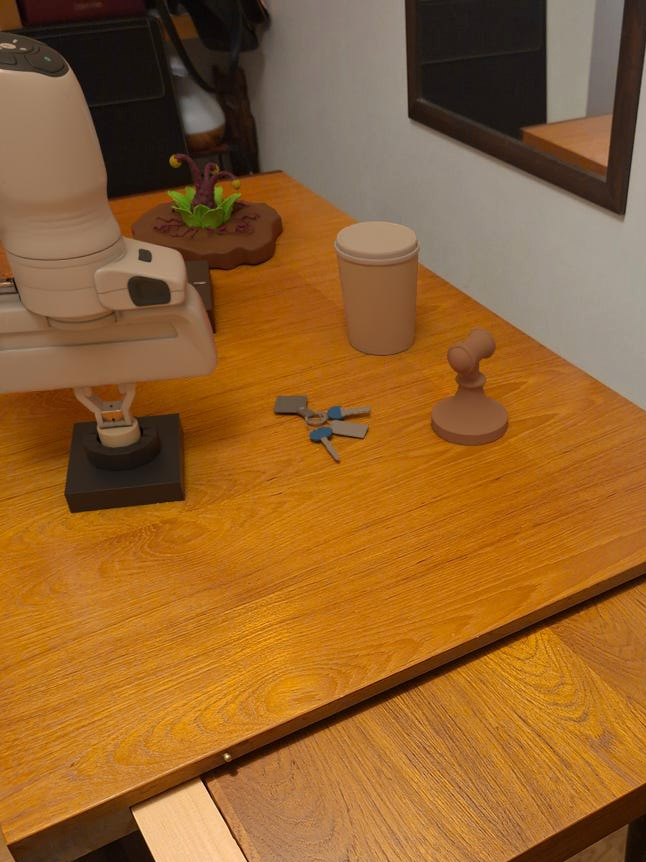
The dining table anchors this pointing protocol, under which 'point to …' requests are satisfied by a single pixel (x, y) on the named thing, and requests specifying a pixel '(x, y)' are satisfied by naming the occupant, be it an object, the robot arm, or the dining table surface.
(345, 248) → the coffee cup
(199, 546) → the dining table surface
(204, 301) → the plate
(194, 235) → the plant
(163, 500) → the box
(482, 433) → the door knob
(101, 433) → the button
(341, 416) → the key chain
